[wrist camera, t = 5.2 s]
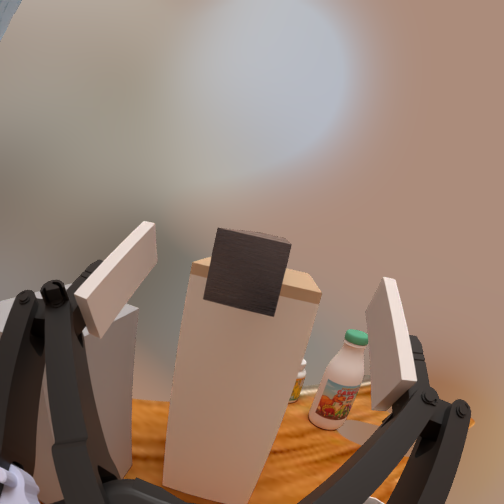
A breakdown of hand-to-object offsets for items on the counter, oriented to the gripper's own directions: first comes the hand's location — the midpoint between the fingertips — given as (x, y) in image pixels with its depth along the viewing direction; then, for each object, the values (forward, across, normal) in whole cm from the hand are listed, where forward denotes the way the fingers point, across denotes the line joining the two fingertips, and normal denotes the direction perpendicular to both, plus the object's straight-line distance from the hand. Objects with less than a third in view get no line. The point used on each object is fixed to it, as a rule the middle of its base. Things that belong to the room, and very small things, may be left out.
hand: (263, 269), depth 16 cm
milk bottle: (+13, +18, -45) cm, 50 cm away
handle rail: (+8, -1, -7) cm, 11 cm away
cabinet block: (-4, -1, -34) cm, 35 cm away
